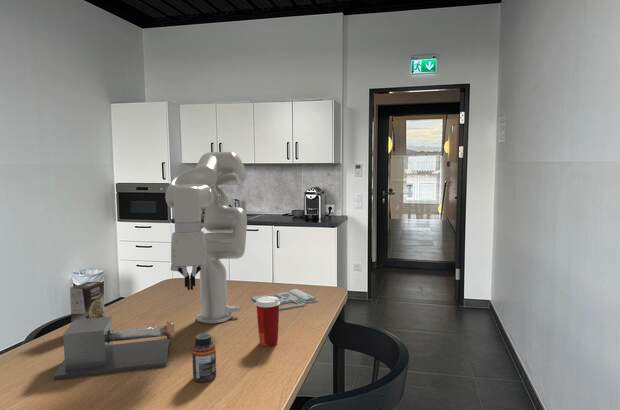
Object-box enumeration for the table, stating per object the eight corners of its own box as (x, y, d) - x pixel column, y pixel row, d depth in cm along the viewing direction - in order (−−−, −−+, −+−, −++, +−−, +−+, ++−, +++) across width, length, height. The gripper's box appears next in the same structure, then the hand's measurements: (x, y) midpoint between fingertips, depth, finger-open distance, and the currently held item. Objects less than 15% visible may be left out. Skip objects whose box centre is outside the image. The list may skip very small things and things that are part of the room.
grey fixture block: (169, 342, 139) (168, 308, 138) (166, 366, 121) (165, 327, 121) (71, 353, 131) (69, 317, 131) (53, 380, 114) (51, 339, 113)
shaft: (174, 335, 133) (174, 318, 132) (174, 341, 128) (173, 324, 127) (95, 343, 127) (94, 326, 127) (91, 350, 122) (90, 332, 122)
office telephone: (300, 287, 196) (323, 298, 178) (300, 292, 196) (323, 304, 178) (251, 294, 184) (270, 306, 167) (251, 300, 184) (270, 313, 167)
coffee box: (88, 336, 145) (85, 288, 144) (71, 335, 146) (68, 287, 145) (106, 326, 154) (104, 281, 152) (90, 325, 155) (87, 280, 154)
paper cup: (284, 339, 139) (283, 296, 138) (275, 349, 132) (274, 303, 131) (262, 337, 142) (261, 294, 141) (251, 346, 135) (250, 301, 134)
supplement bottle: (195, 373, 117) (193, 332, 116) (217, 372, 118) (216, 331, 117) (191, 383, 111) (189, 340, 110) (214, 382, 112) (213, 339, 111)
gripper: (213, 225, 135) (215, 283, 136) (162, 227, 131) (164, 287, 132) (214, 228, 127) (216, 290, 129) (160, 230, 123) (163, 294, 125)
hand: (190, 288), depth 130 cm, fingers closed
